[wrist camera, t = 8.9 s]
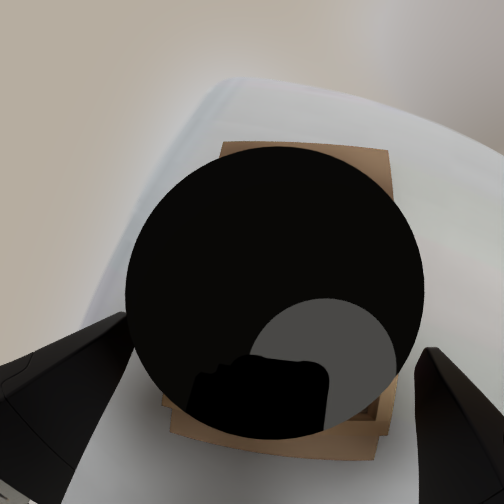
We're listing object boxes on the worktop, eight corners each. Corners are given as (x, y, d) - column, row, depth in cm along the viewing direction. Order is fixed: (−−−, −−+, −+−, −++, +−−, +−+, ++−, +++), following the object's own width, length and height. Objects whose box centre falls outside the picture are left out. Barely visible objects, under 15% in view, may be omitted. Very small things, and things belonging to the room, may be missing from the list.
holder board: (369, 453, 13) (382, 472, 10) (177, 427, 16) (154, 439, 13) (384, 160, 19) (393, 132, 16) (227, 151, 22) (216, 123, 19)
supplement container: (311, 405, 14) (326, 490, 4) (206, 344, 16) (82, 327, 6) (369, 297, 15) (457, 215, 6) (265, 245, 17) (221, 117, 8)
